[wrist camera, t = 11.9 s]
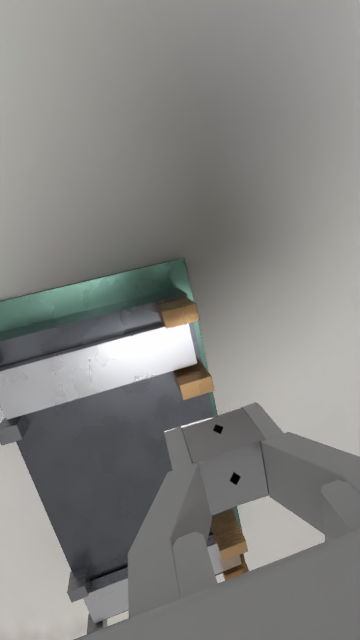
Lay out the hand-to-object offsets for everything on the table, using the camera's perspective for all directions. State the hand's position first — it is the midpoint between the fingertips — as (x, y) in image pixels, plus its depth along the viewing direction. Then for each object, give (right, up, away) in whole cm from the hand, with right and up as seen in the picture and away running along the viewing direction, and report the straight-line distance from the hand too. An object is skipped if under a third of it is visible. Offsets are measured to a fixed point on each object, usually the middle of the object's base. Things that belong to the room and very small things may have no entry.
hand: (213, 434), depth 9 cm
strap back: (-2, -16, +14) cm, 22 cm away
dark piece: (-5, -7, +16) cm, 18 cm away
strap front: (-6, +1, +10) cm, 12 cm away
